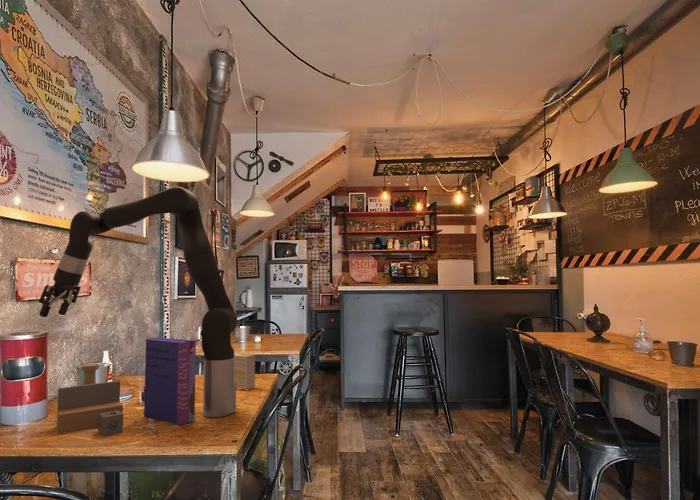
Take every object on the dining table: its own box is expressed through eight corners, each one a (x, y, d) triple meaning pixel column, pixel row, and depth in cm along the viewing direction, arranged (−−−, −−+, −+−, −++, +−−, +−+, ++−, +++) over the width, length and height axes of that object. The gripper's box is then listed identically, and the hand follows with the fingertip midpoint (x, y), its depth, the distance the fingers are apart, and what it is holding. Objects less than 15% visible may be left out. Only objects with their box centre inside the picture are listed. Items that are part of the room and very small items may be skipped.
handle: (78, 415, 136) (80, 366, 137) (81, 410, 142) (82, 363, 143) (96, 413, 138) (97, 365, 139) (98, 408, 144) (99, 362, 145)
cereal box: (194, 421, 129) (195, 340, 131) (181, 425, 125) (182, 342, 127) (157, 412, 138) (159, 336, 140) (144, 416, 134) (146, 338, 136)
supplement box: (255, 388, 169) (255, 354, 170) (246, 391, 164) (246, 356, 165) (240, 385, 173) (240, 352, 174) (231, 388, 169) (231, 354, 170)
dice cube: (122, 432, 120) (123, 413, 121) (102, 436, 117) (103, 417, 117) (117, 427, 124) (118, 410, 124) (97, 432, 120) (98, 413, 121)
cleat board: (118, 416, 134) (119, 380, 135) (122, 422, 128) (123, 384, 129) (56, 427, 125) (58, 388, 126) (57, 433, 119) (59, 393, 120)
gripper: (66, 272, 136) (46, 321, 135) (94, 273, 150) (77, 317, 149) (44, 264, 136) (25, 313, 135) (75, 266, 150) (57, 310, 149)
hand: (52, 315), depth 142 cm, fingers open, 8 cm apart
